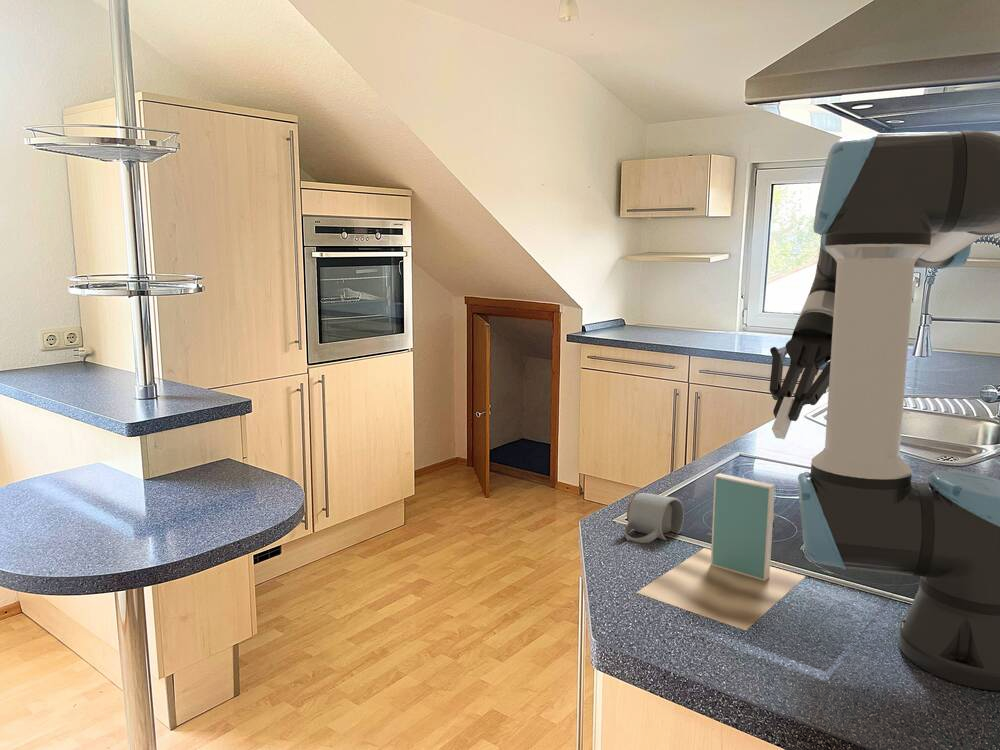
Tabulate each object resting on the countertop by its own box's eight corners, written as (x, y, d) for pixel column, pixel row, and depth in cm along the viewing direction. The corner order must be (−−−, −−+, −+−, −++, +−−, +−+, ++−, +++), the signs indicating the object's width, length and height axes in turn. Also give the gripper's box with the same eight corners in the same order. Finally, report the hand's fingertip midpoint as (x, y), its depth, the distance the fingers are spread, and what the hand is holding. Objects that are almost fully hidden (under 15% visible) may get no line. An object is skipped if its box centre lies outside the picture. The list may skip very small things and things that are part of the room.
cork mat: (704, 552, 129) (704, 547, 129) (805, 581, 118) (805, 576, 118) (635, 597, 113) (636, 592, 112) (745, 635, 101) (745, 630, 101)
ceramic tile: (715, 561, 123) (719, 473, 120) (769, 577, 117) (775, 484, 115) (710, 565, 122) (714, 475, 119) (765, 581, 116) (770, 487, 113)
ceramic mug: (646, 523, 142) (646, 484, 141) (684, 534, 137) (685, 494, 135) (612, 540, 135) (613, 499, 133) (652, 553, 129) (652, 510, 128)
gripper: (863, 339, 131) (823, 453, 122) (788, 333, 140) (745, 439, 131) (856, 311, 127) (813, 427, 117) (779, 307, 135) (734, 415, 126)
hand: (778, 433), depth 124 cm, fingers closed
